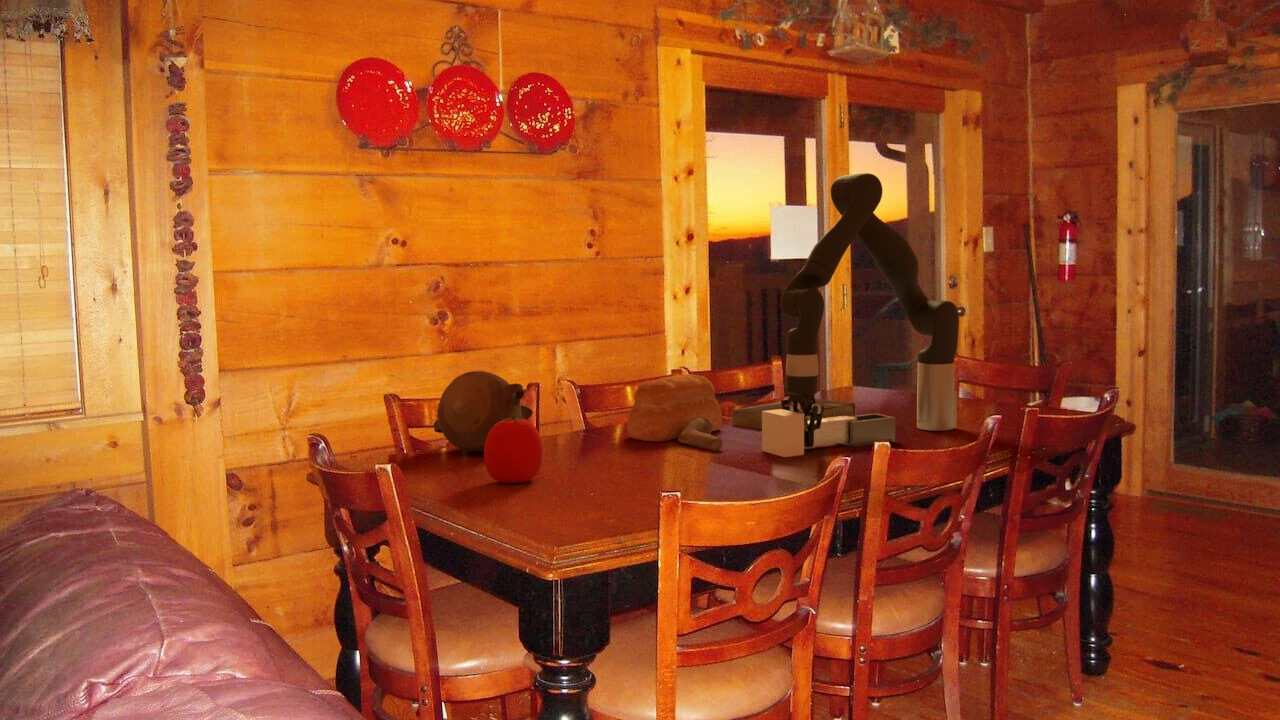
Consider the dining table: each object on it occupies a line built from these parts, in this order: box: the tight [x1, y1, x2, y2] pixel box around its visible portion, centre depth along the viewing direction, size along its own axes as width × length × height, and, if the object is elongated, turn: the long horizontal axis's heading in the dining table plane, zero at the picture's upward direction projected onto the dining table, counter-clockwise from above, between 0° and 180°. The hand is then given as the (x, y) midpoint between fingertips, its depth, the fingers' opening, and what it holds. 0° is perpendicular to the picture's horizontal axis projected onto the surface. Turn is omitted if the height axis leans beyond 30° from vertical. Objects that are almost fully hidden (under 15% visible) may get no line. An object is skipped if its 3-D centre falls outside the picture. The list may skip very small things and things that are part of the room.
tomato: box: [483, 415, 544, 484], centre depth 223 cm, size 13×11×14 cm
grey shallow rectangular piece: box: [731, 398, 856, 430], centre depth 292 cm, size 29×19×5 cm, turn 131°
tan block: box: [761, 409, 805, 458], centre depth 249 cm, size 6×9×10 cm, turn 28°
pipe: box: [677, 416, 724, 452], centre depth 261 cm, size 6×17×10 cm
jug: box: [433, 370, 534, 453], centre depth 261 cm, size 20×20×30 cm
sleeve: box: [837, 413, 896, 448], centre depth 260 cm, size 13×7×6 cm, turn 118°
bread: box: [626, 373, 723, 443], centre depth 276 cm, size 14×26×15 cm, turn 135°
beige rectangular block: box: [804, 416, 857, 449], centre depth 254 cm, size 20×5×6 cm, turn 118°
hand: (802, 444), depth 252 cm, fingers closed on beige rectangular block, 4 cm apart
